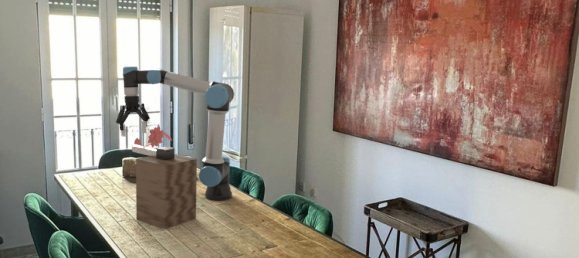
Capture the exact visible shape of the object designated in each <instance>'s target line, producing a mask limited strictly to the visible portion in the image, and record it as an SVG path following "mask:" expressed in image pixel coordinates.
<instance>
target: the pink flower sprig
mask: <svg viewBox="0 0 579 258" xmlns="http://www.w3.org/2000/svg"><path fill="white" fill-rule="evenodd" d="M164 136H165V138H167V140H169V141H171V142H172V141H173V139H172V138H171V136H170V135H169V134H168V133H166V132H165V131H164V130H163V129H162V130H161V127H160V126H157V127H156V126H155V127H153V129H149V135H148V137H147V138H148V141H147V145H144V147H148V146H151V148H153V149H154V147H156V148H158V146H159V144H162V143H163V138H164ZM133 143H134V145H140V146H143V144H142V141H141V140H140V138H138V137H136V138H135V139H134V142H133Z"/></svg>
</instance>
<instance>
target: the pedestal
mask: <svg viewBox="0 0 579 258" xmlns="http://www.w3.org/2000/svg"><path fill="white" fill-rule="evenodd" d="M197 170H198V160H197V158H194V157H189V156H186V155H181V154H177V153H174V159H169V160H161V159H157V158H156V157H153V156H149V155H147V156H144V157H143V156H142V157H137V158H136V159H135V172H136V173H135V178H136V179H135V185H136V186H135V187H136V188H135V191H136V193H135V198H136V199H135V203H136V204H135V206H136V208H135V209H136V212H135V213H136V215H135V218H136V220H137V221H140V222H142V223H146V224H148V225H151V226H153V227H156V228H159V229H163V230H166V229H170V228H172V227H175V226H178V225H181V224H183V223H187V222H190V221H194V220H195V219H197V185H198V184H197V180H198V179H197V175H198V173H197V172H198V171H197Z"/></svg>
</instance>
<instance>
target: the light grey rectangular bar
mask: <svg viewBox="0 0 579 258" xmlns="http://www.w3.org/2000/svg"><path fill="white" fill-rule="evenodd" d="M144 146H145V145H144ZM144 146H143V145H142V146H140V145H135V144H134V145H132V146H131V151H132V152H133V153H137V154H141V155H146V156H153V157H156V158H157V159H161V160H169V159H174V154H175V147H171V146H161V147H156V148H154V147H153V148H152V147H148V146H146V147H144Z"/></svg>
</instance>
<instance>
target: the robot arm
mask: <svg viewBox="0 0 579 258" xmlns="http://www.w3.org/2000/svg"><path fill="white" fill-rule="evenodd" d="M122 79H123V94H124V103H125V105H123V104H121V105H120V106H119V112H118V115H117V117H116V120H115V123H116V124H118V125H119V130H120V134H121V135H120V136H121V137H126V136H127V133H126V131H127V130H126V124H125V122H126V121H127V119H128V117H129V115H131V114H132V113H135V114H137V115H138V116H139V118H140V119H141V132H142V134H147V126H148V121H149V120H150V119H151V118H150V116H149V115H150V114H148V112H147V109H146V108H145V104H144V103H142V102H141V103H140V95H139V94H140V88H139V85H156V84H157V85H158V84H160V85H161V84H162V85H166V86H169V87H173V88H175V89H176V88H177V89H181V90H185V91H188V92H190V93H191V92H193V93H195V94H199V95H203V96H204V99H205V103H206V111H207V112H208V123H207V133H206V134H207V135H206V144H205V148H206V149H205V156H204V157H203V158H202V161H201V168H200V170H199V172H198V179H199V182H200V183H202V185H203V186H205V187H206V190H205V192H204V197H205V199H207V200H211V201H225V200H230V199H232V198H233V192H232V190H231V184H230V167H231V166H230V164H231V160H230V158H229V157H227V156H223V147H224V137H225V136H224V134H225V123H226V114H227V113H228V112H229V110H230V103H231V102H233V100H234V98H235V97H234V96H235V91H234V88H233V87H232V86H231V85H229V84H228V83H222V82H217V81H211V82H210V81H207V80H202V79H198V78H195V77H191V76H188V75H182V74H180V73H176V72H172V71H167V70H166V69H163V68H155V69H138V66H136V65H133V66H132V65H129V66H128V65H127V66H123V67H122Z"/></svg>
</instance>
